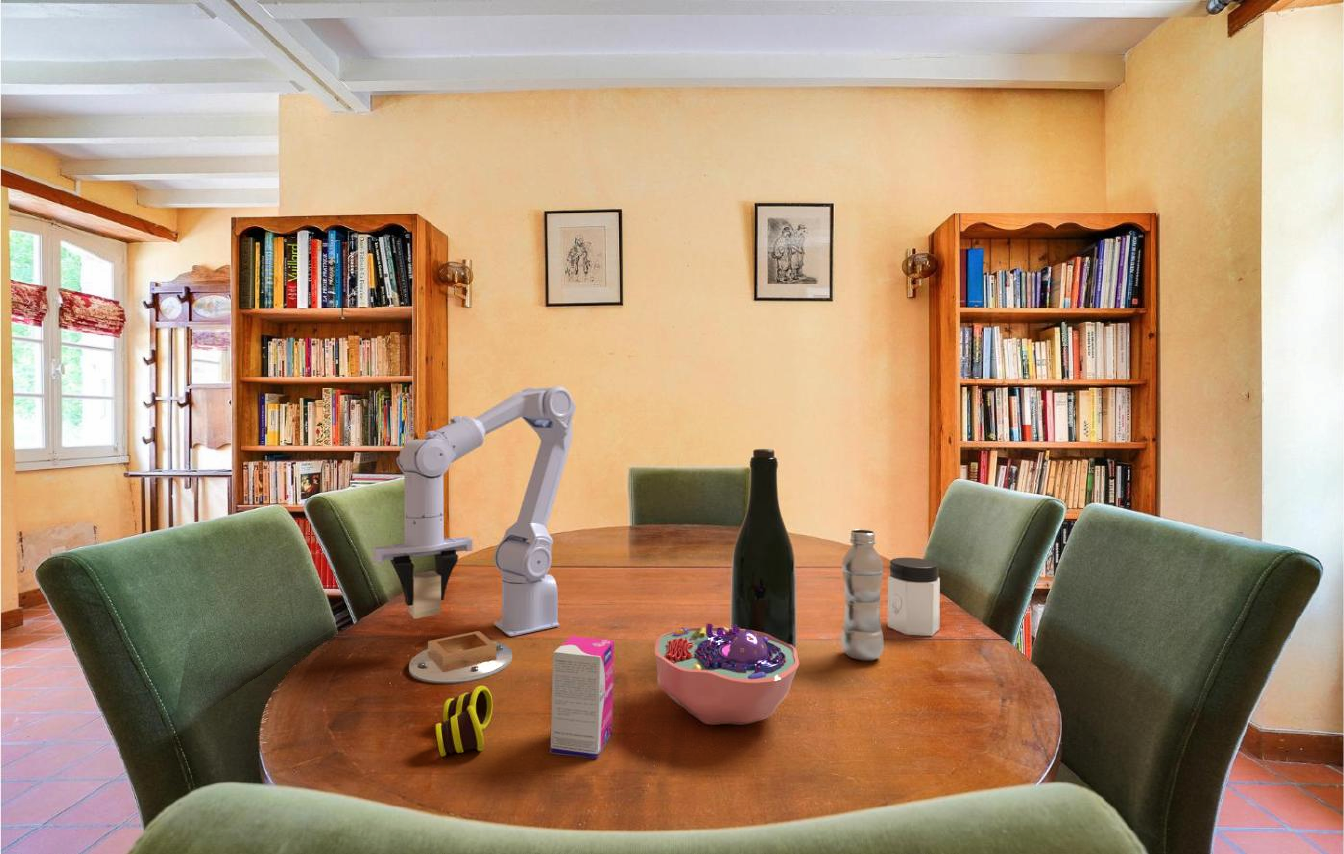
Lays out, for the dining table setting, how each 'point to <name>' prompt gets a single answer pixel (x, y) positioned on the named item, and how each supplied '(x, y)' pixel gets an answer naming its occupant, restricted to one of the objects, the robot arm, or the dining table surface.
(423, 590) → the beige wooden block
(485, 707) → the opera glasses
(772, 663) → the cell model
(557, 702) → the supplement box
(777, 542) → the wine bottle
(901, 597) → the jar
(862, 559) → the plastic bottle
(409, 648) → the dining table surface
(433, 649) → the tray on oval base
